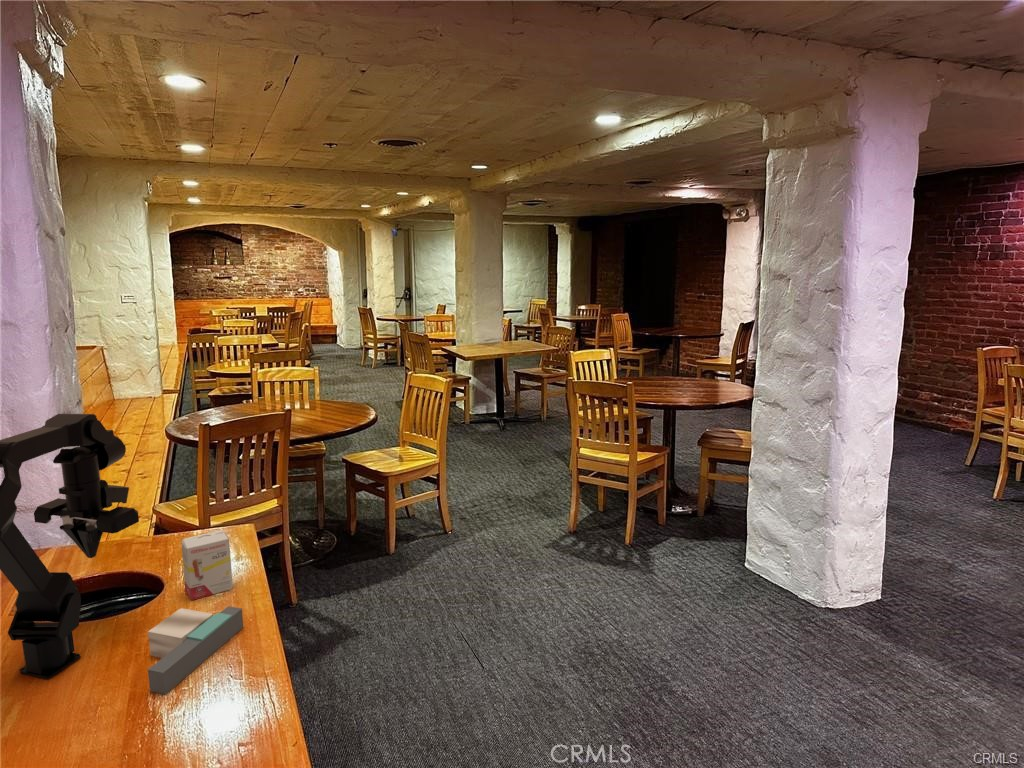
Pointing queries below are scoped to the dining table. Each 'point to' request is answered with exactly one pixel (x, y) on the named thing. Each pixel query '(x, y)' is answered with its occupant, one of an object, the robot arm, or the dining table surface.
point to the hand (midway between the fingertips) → (91, 557)
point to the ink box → (206, 564)
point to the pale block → (174, 630)
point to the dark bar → (194, 650)
